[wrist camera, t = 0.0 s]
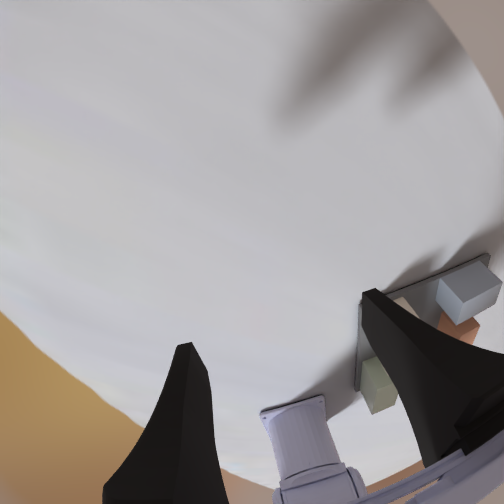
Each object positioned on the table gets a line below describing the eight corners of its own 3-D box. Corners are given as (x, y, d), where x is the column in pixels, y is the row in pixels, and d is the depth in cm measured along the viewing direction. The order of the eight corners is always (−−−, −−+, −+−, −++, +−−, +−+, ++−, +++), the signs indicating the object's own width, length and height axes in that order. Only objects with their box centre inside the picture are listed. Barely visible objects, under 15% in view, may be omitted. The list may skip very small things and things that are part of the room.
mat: (460, 340, 35) (462, 343, 35) (354, 389, 35) (355, 392, 34) (487, 252, 27) (490, 255, 27) (358, 304, 27) (360, 308, 26)
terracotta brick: (449, 336, 33) (466, 358, 30) (431, 345, 33) (447, 368, 29) (460, 302, 30) (480, 325, 26) (441, 312, 30) (461, 336, 26)
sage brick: (381, 380, 34) (394, 404, 31) (359, 388, 34) (371, 414, 31) (386, 352, 31) (402, 379, 28) (362, 361, 31) (377, 389, 28)
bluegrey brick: (479, 260, 27) (502, 281, 23) (473, 282, 28) (495, 303, 25) (439, 277, 27) (463, 303, 23) (435, 300, 28) (456, 325, 25)
